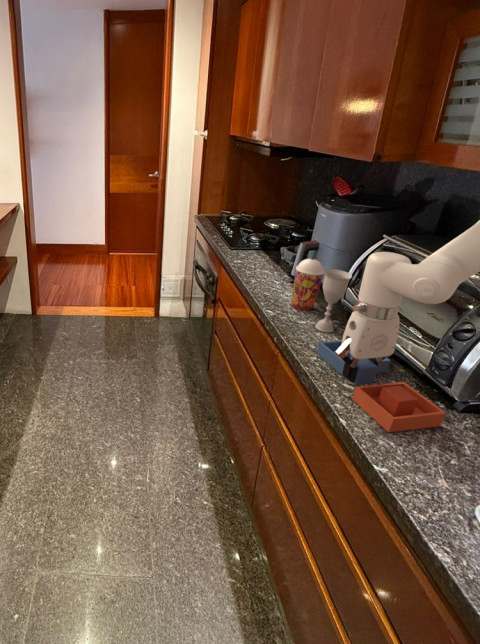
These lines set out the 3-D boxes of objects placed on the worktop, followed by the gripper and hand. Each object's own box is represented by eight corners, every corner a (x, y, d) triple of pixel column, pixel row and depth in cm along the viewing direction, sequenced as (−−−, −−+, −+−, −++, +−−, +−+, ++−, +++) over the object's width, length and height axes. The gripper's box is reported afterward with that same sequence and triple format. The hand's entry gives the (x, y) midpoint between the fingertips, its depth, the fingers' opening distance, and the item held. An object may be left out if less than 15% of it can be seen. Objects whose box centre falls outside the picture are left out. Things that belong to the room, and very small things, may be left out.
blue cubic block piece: (359, 371, 94) (363, 355, 92) (373, 383, 89) (378, 366, 88) (342, 373, 93) (346, 357, 91) (356, 385, 89) (360, 368, 87)
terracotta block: (394, 401, 87) (400, 385, 86) (412, 416, 83) (418, 399, 81) (376, 403, 87) (382, 387, 85) (393, 418, 83) (399, 401, 81)
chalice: (342, 334, 115) (357, 278, 108) (319, 334, 115) (333, 278, 108) (329, 322, 121) (342, 269, 115) (307, 322, 122) (319, 269, 115)
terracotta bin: (399, 393, 90) (403, 381, 89) (440, 426, 81) (446, 413, 80) (352, 399, 89) (355, 386, 88) (388, 432, 80) (393, 419, 78)
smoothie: (288, 299, 136) (299, 245, 129) (315, 303, 133) (328, 249, 125) (288, 309, 129) (299, 253, 122) (316, 314, 126) (329, 257, 118)
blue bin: (356, 349, 107) (360, 338, 106) (387, 371, 98) (391, 360, 97) (316, 353, 106) (319, 342, 105) (343, 376, 97) (346, 364, 95)
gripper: (354, 319, 80) (336, 391, 87) (426, 313, 82) (403, 383, 89) (329, 304, 87) (314, 371, 94) (396, 298, 89) (377, 364, 96)
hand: (358, 376), depth 91 cm, fingers closed on blue cubic block piece, 4 cm apart
